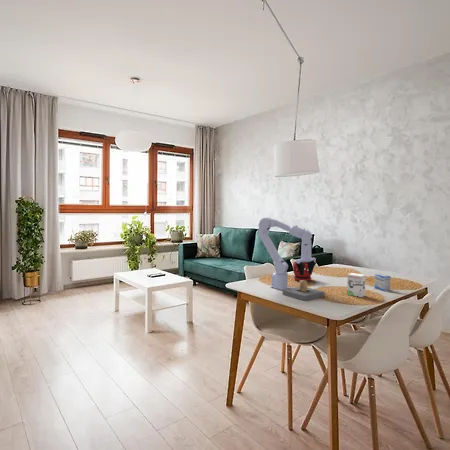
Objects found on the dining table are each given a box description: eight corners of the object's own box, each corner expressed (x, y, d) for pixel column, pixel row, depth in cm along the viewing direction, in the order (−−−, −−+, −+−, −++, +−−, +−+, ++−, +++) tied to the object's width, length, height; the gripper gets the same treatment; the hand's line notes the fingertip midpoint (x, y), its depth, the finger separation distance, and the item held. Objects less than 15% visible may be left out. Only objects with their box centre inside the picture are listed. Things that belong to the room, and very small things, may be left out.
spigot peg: (298, 294, 193) (298, 280, 193) (303, 294, 195) (303, 280, 195) (303, 296, 190) (303, 282, 189) (308, 295, 192) (308, 281, 191)
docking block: (282, 294, 194) (282, 290, 194) (302, 290, 204) (302, 286, 203) (304, 300, 181) (304, 296, 181) (324, 296, 191) (324, 291, 190)
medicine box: (374, 288, 209) (374, 274, 209) (379, 287, 211) (380, 273, 210) (384, 291, 202) (384, 276, 202) (390, 290, 204) (390, 275, 203)
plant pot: (314, 282, 225) (315, 264, 224) (294, 282, 225) (294, 263, 225) (310, 278, 238) (310, 260, 237) (291, 277, 238) (291, 260, 238)
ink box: (346, 294, 194) (347, 273, 193) (350, 293, 197) (350, 272, 197) (362, 297, 188) (362, 276, 187) (365, 295, 192) (365, 274, 191)
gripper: (303, 253, 195) (302, 277, 196) (319, 251, 204) (319, 274, 204) (293, 251, 201) (293, 274, 202) (310, 249, 209) (310, 272, 210)
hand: (306, 274), depth 203 cm, fingers open, 7 cm apart
